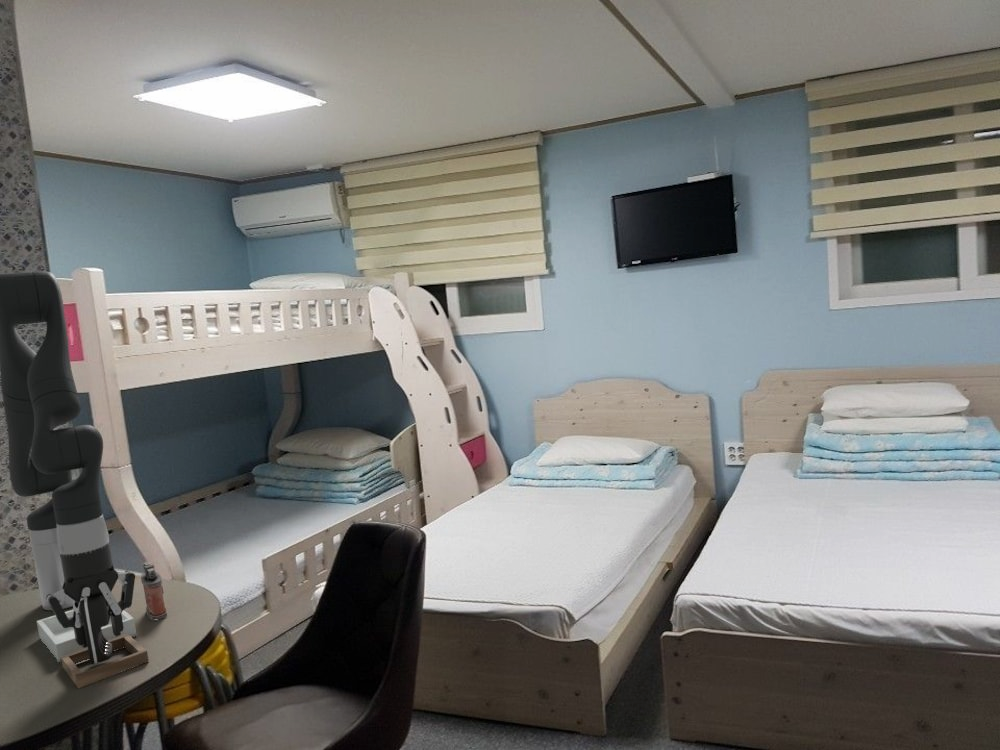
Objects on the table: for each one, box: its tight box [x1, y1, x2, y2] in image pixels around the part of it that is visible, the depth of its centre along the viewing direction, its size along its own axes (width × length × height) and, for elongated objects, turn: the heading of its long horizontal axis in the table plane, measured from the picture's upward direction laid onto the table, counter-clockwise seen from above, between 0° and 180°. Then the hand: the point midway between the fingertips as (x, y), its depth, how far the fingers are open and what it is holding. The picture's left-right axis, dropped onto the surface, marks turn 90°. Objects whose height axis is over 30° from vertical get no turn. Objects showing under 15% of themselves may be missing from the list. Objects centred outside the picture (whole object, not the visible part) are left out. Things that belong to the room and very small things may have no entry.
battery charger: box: [80, 593, 113, 665], centre depth 137 cm, size 7×4×11 cm, turn 22°
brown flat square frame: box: [61, 634, 149, 689], centre depth 137 cm, size 11×11×2 cm
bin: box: [36, 609, 138, 662], centre depth 150 cm, size 16×13×4 cm
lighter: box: [140, 561, 168, 620], centre depth 158 cm, size 8×3×10 cm, turn 34°
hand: (100, 639), depth 137 cm, fingers closed on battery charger, 4 cm apart
